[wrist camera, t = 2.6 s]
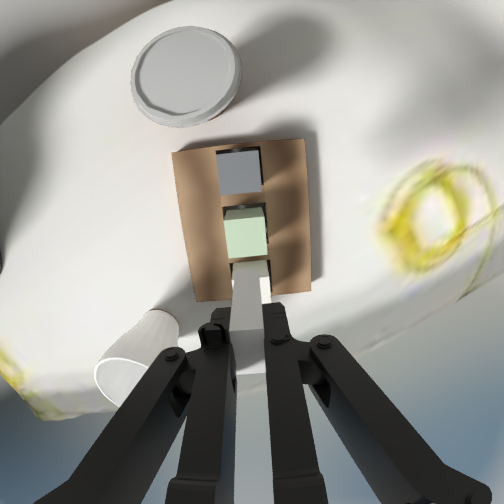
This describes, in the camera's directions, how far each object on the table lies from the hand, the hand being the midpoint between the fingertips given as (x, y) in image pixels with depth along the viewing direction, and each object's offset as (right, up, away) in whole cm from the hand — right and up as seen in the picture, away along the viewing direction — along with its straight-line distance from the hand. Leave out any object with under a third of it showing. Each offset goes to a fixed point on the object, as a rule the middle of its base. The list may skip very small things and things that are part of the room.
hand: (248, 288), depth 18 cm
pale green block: (0, +5, +15) cm, 16 cm away
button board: (-1, +6, +16) cm, 17 cm away
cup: (-14, -9, +22) cm, 27 cm away
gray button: (-1, +12, +12) cm, 17 cm away
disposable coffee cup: (-6, +21, +11) cm, 24 cm away
